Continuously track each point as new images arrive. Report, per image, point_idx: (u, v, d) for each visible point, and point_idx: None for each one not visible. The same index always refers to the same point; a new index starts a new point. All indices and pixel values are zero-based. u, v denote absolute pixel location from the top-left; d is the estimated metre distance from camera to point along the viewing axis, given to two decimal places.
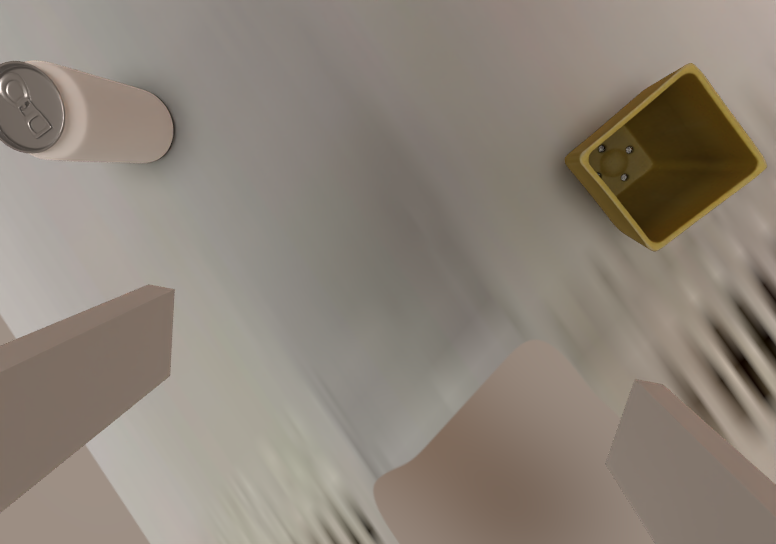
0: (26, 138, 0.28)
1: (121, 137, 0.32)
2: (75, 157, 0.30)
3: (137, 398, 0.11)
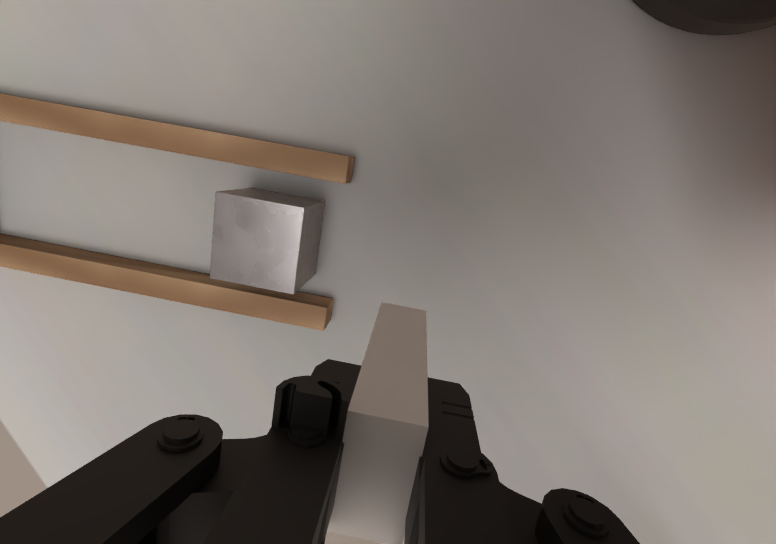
0: None
1: None
2: None
3: None
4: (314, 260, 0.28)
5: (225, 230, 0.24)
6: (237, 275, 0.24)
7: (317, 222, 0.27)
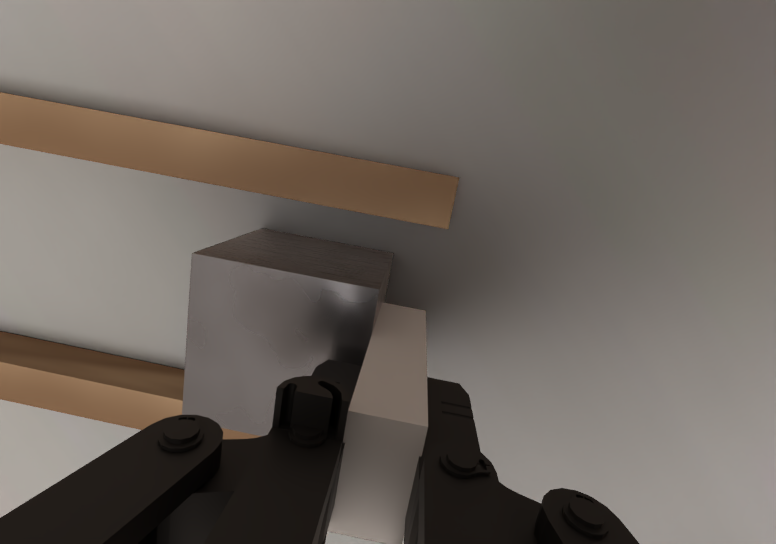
0: None
1: None
2: None
3: None
4: None
5: (212, 330, 0.12)
6: (237, 417, 0.12)
7: (384, 295, 0.15)
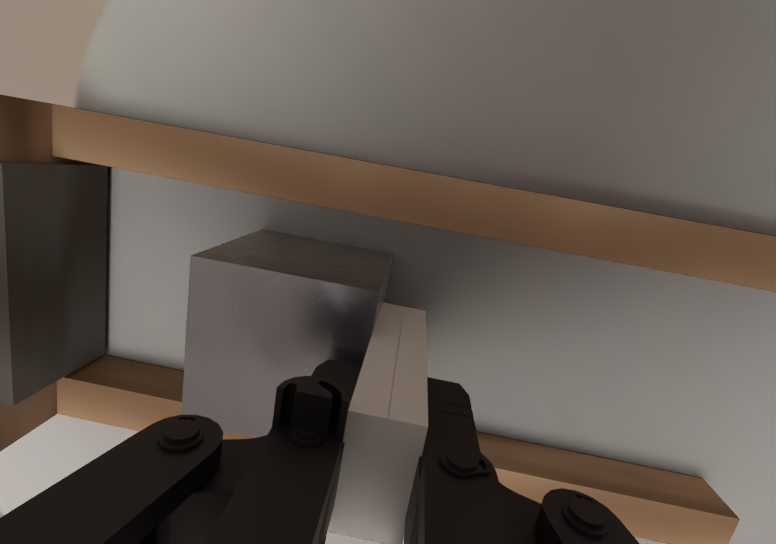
0: None
1: None
2: None
3: None
4: None
5: (212, 333, 0.11)
6: (236, 420, 0.12)
7: (384, 297, 0.14)
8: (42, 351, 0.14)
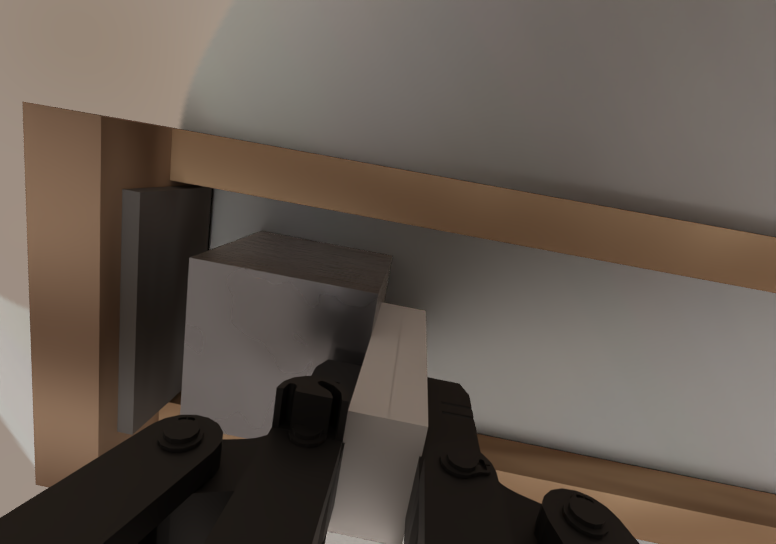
0: None
1: None
2: None
3: None
4: None
5: (210, 335, 0.11)
6: (235, 422, 0.12)
7: (383, 299, 0.14)
8: (155, 377, 0.14)
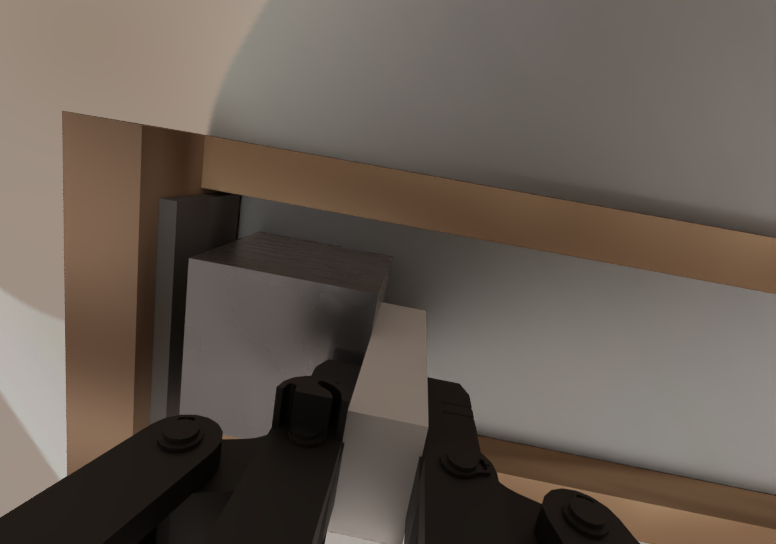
0: None
1: None
2: None
3: None
4: None
5: (210, 336, 0.11)
6: (235, 423, 0.12)
7: (383, 299, 0.14)
8: None
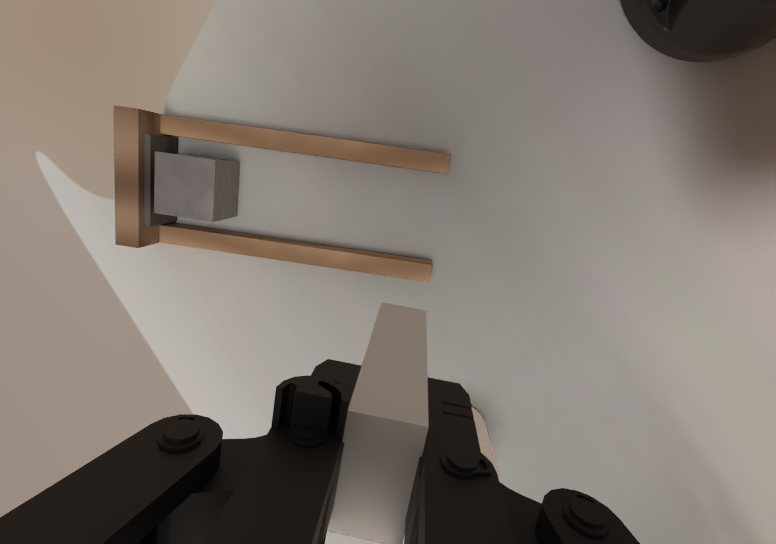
0: None
1: None
2: None
3: None
4: (233, 204, 0.39)
5: (163, 178, 0.35)
6: (173, 210, 0.35)
7: (232, 175, 0.38)
8: None
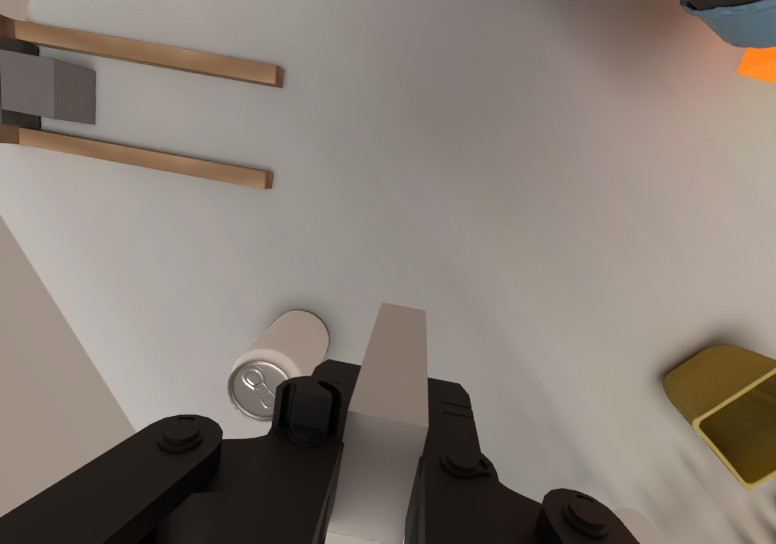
0: (258, 409, 0.36)
1: None
2: None
3: None
4: (88, 111, 0.42)
5: (8, 75, 0.38)
6: (18, 106, 0.38)
7: (84, 82, 0.41)
8: None
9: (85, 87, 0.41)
